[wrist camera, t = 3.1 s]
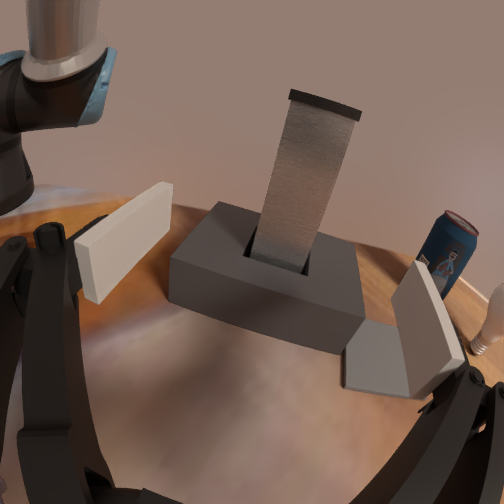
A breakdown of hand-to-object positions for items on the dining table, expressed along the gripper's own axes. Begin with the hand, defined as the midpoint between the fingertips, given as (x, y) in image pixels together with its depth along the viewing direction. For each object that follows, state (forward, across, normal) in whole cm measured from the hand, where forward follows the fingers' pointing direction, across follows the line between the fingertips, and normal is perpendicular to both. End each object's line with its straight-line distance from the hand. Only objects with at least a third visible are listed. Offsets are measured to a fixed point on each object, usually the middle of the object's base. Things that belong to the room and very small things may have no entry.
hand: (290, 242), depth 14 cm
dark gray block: (+10, 0, -11) cm, 15 cm away
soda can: (+19, +22, -12) cm, 31 cm away
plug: (+10, 0, -11) cm, 15 cm away
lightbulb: (+9, +29, -12) cm, 32 cm away
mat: (+5, +13, -12) cm, 18 cm away
